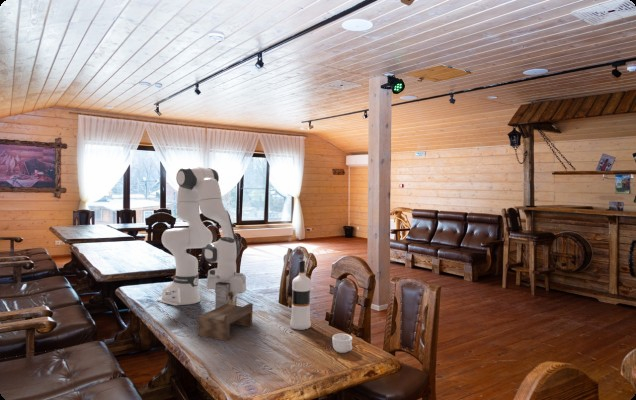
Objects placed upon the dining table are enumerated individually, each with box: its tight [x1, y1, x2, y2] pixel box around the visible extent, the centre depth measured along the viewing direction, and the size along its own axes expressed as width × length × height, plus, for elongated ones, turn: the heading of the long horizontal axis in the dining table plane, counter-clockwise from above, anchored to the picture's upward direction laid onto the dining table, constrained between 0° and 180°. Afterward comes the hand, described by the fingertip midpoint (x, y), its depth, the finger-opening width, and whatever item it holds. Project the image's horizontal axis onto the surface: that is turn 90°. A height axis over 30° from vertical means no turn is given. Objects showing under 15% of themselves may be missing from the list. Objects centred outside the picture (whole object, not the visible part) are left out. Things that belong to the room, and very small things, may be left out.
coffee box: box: [214, 282, 238, 309], centre depth 202 cm, size 9×6×16 cm
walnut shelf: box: [197, 303, 254, 342], centre depth 181 cm, size 14×20×10 cm
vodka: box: [289, 260, 312, 331], centre depth 188 cm, size 9×9×30 cm
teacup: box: [331, 333, 353, 354], centre depth 162 cm, size 10×8×5 cm
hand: (226, 300), depth 202 cm, fingers closed on coffee box, 6 cm apart
